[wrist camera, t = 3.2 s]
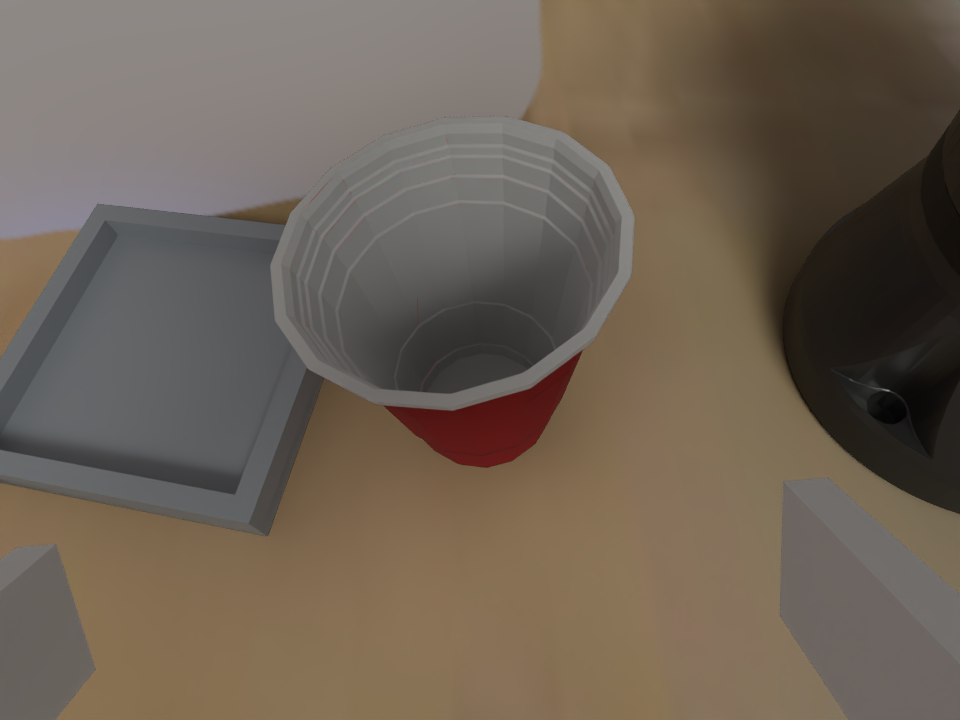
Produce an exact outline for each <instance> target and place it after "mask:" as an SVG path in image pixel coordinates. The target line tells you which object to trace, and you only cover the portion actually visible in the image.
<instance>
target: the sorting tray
mask: <svg viewBox="0 0 960 720" xmlns="http://www.w3.org/2000/svg"><path fill="white" fill-rule="evenodd" d="M285 226H286V225H282V224H273V223H264V222H255V221H246V220H237V219H229V218H220V217H211V216H202V215H193V214H184V213H175V212H166V211H158V210H148V209H140V208H131V207H122V206H113V205H104V204H97V205H96V207H95V208H94V210H93V212H92V213H91V215H90V216H89V218H88V220H87V221H86V223H85V224H84V226H83V228H82V229H81V231H80V232H79V234H78V235H77V237H76V239H75V240H74V242H73V243H72V245H71V247H70V248H69V250H68V251H67V253H66V255H65V256H64V258H63V259H62V261H61V263H60V264H59V266H58V267H57V269H56V271H55V272H54V274H53V275H52V277H51V279H50V280H49V282H48V283H47V285H46V287H45V288H44V290H43V291H42V293H41V295H40V296H39V298H38V299H37V301H36V303H35V304H34V306H33V307H32V309H31V311H30V312H29V314H28V315H27V317H26V319H25V320H24V322H23V323H22V325H21V326H20V328H19V330H18V331H17V333H16V334H15V336H14V338H13V339H12V341H11V342H10V344H9V346H8V347H7V349H6V350H5V352H4V354H3V355H2V357H1V358H0V483H5V484H10V485H15V486H20V487H25V488H30V489H35V490H40V491H45V492H50V493H54V494H59V495H64V496H69V497H74V498H79V499H84V500H89V501H94V502H99V503H104V504H109V505H114V506H119V507H124V508H129V509H134V510H139V511H144V512H149V513H154V514H159V515H164V516H169V517H174V518H179V519H184V520H189V521H194V522H199V523H204V524H209V525H214V526H218V527H223V528H228V529H233V530H238V531H243V532H248V533H253V534H258V535H263V536H268V534H269V531H270V528H271V525H272V523H273V520H274V517H275V514H276V511H277V509H278V506H279V503H280V500H281V497H282V495H283V492H284V489H285V486H286V483H287V480H288V478H289V475H290V472H291V469H292V466H293V464H294V461H295V458H296V455H297V452H298V450H299V447H300V444H301V441H302V438H303V436H304V433H305V430H306V427H307V424H308V421H309V419H310V416H311V413H312V410H313V407H314V405H315V402H316V399H317V396H318V393H319V391H320V388H321V385H322V382H323V379H324V377H322V376H320V375H318V374H316V373H314V372H312V371H310V370H309V369H308V368H307V367H306V365H305V364H304V362H303V361H302V359H301V358H300V356H299V355H298V353H297V352H296V351H295V349H294V348H293V346H292V345H291V343H290V342H289V340H288V339H287V338H286V336H285V335H284V333H283V332H282V330H281V329H280V327H279V326H278V324H277V323H276V322H275V316H274V305H273V293H272V281H271V269H270V265H271V262H272V259H273V257H274V254H275V252H276V249H277V247H278V244H279V241H280V239H281V236H282V234H283V231H284V228H285Z"/></svg>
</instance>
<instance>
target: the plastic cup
mask: <svg viewBox="0 0 960 720" xmlns="http://www.w3.org/2000/svg"><path fill="white" fill-rule="evenodd" d="M633 235H634V213H633V211H632V209H631V208H630V206H629V204H628V202H627V200H626V198H625V196H624V194H623V192H622V190H621V188H620V186H619V184H618V182H617V180H616V178H615V176H614V174H613V172H612V170H611V168H610V166H609V165H608V164H606V163H605V162H603V161H602V160H601V159H599V158H598V157H597V156H595V155H594V154H593V153H591V152H590V151H589V150H587V149H586V148H585V147H583V146H582V145H581V144H579V143H578V142H577V141H575V140H574V139H572V138H571V137H570V136H568V135H567V134H566V133H564V132H562V131H558V130H555V129H551V128H547V127H544V126H540V125H537V124H533V123H530V122H526V121H522V120H519V119H515V118H512V117H508V116H487V117H444V118H441V119H437V120H434V121H431V122H428V123H424V124H420V125H417V126H414V127H410V128H407V129H403V130H400V131H397V132H394V133H390V134H387V135H384V136H382V137H380V138H378V139H377V140H375V141H374V142H372V143H370V144H369V145H367V146H365V147H364V148H362V149H361V150H359V151H357V152H356V153H354V154H352V155H351V156H349V157H347V158H346V159H344V160H343V161H341V162H339V163H338V164H336V165H334V166H333V167H331V168H330V169H329V170H328V171H327V173H326V174H325V175H324V176H323V177H322V178H321V179H320V180H319V181H318V183H317V184H316V185H315V186H314V187H313V188H312V189H311V190H310V191H309V193H308V194H307V195H306V196H305V197H304V198H303V199H302V200H301V202H300V203H299V204H298V205H297V206H296V207H295V208H294V209H293V210H292V212H291V213H290V216H289V218H288V221H287V223H286V226H285V228H284V231H283V234H282V236H281V239H280V241H279V244H278V247H277V249H276V252H275V254H274V257H273V259H272V262H271V265H270V269H271V281H272V293H273V305H274V316H275V322H276V323H277V324H278V326H279V327H280V329H281V330H282V332H283V333H284V335H285V336H286V338H287V339H288V340H289V342H290V343H291V345H292V346H293V348H294V349H295V351H296V352H297V353H298V355H299V356H300V358H301V359H302V361H303V362H304V364H305V365H306V367H307V368H308V369H309V370H310V371H312V372H314V373H316V374H318V375H320V376H322V377H324V378H326V379H328V380H330V381H332V382H333V383H335V384H337V385H339V386H341V387H343V388H345V389H347V390H349V391H351V392H353V393H355V394H356V395H358V396H360V397H362V398H364V399H366V400H368V401H370V402H372V403H374V404H376V405H383V406H384V407H385V408H386V409H388V410H389V411H390V412H391V413H392V414H393V415H394V416H395V417H396V418H397V419H398V420H400V421H401V422H402V423H403V424H404V425H405V426H406V427H407V428H408V429H409V430H410V431H412V432H413V433H414V434H415V435H416V436H418V437H420V438H422V439H423V440H424V441H425V442H426V443H427V444H428V445H429V446H430V447H431V448H432V449H433V450H434V451H436V452H438V453H440V454H441V455H443V456H445V457H447V458H449V459H450V460H452V461H454V462H456V463H458V464H461V465H469V466H477V467H486V468H487V467H491V466H495V465H499V464H503V463H506V462H510V461H513V460H514V459H515V458H517V457H518V456H519V455H521V454H522V453H523V452H525V451H526V450H527V449H529V448H530V447H532V446H533V445H534V444H535V443H536V442H537V440H538V439H539V437H540V435H541V434H542V432H543V430H544V429H545V427H546V425H547V423H548V422H549V420H550V418H551V415H552V414H553V412H554V410H555V409H556V407H557V405H558V404H559V402H560V400H561V399H562V397H563V394H564V392H565V390H566V388H567V385H568V383H569V381H570V378H571V376H572V374H573V372H574V369H575V367H576V365H577V362H578V360H579V358H580V356H581V353H582V351H583V349H584V348H586V347H587V346H589V345H590V344H591V343H592V342H593V341H594V339H595V337H596V335H597V334H598V332H599V330H600V329H601V327H602V325H603V324H604V322H605V320H606V318H607V317H608V315H609V313H610V312H611V310H612V308H613V307H614V305H615V303H616V302H617V300H618V298H619V296H620V295H621V293H622V291H623V290H624V288H625V286H626V284H627V283H628V281H629V279H630V277H631V275H632V255H633Z"/></svg>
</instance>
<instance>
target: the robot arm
mask: <svg viewBox="0 0 960 720" xmlns="http://www.w3.org/2000/svg"><path fill="white" fill-rule="evenodd" d="M783 334H784V344H785V351H786V355H787V359H788V363H789V366H790V369H791V372H792V374H793V377H794V379H795V381H796V384H797V386H798V388H799V390H800V392H801V394H802V396H803V397H804V399H805V401H806V402H807V404H808V406H809V407H810V409H811V410H812V411H813V413H814V414H815V416H816V417H817V419H818V420H819V421H820V422H821V423H822V425H823V426H824V427H825V428H826V430H827V431H828V432H829V433H830V434H831V435H832V436H833V437H834V438H835V440H836V441H837V442H838V443H840V444H841V445H842V446H843V447H844V448H845V449H846V450H847V451H848V452H849V453H850V454H851V455H853V456H854V457H855V458H856V459H857V460H858V461H860V462H861V463H862V464H864V465H865V466H866V467H867V468H869V469H870V470H871V471H873V472H874V473H876V474H877V475H879V476H880V477H882V478H883V479H885V480H886V481H888V482H890V483H891V484H893V485H895V486H896V487H898V488H900V489H902V490H904V491H905V492H907V493H909V494H911V495H913V496H915V497H917V498H920V499H922V500H924V501H926V502H928V503H931V504H933V505H936V506H938V507H941V508H944V509H946V510H950V511H953V512H956V513H959V514H960V110H959V112H958V113H957V115H956V116H955V117H954V119H953V120H952V122H951V124H950V125H949V126H948V128H947V129H946V131H945V132H944V134H943V135H942V137H941V138H940V139H939V141H938V142H937V144H936V145H935V147H934V148H933V149H932V151H931V152H930V154H929V155H928V156H927V157H926V158H924V159H923V160H922V161H920V162H919V163H918V164H916V165H915V166H914V167H912V168H911V169H910V170H908V171H907V172H906V173H904V174H903V175H902V176H900V177H899V178H898V179H896V180H895V181H894V182H892V183H891V184H890V185H888V186H887V187H886V188H884V189H883V190H882V191H880V192H879V193H878V194H877V195H875V196H874V197H873V198H872V199H870V200H869V201H868V202H866V203H865V204H863V205H861V206H860V207H858V208H857V209H855V210H853V211H852V212H850V213H849V214H847V215H846V216H844V217H843V218H842V219H840V220H839V221H838V222H837V223H835V224H834V225H833V226H832V227H831V228H830V229H829V230H828V231H827V232H826V233H825V235H824V236H823V237H822V238H821V239H820V240H819V241H818V243H817V244H816V246H815V247H814V248H813V250H812V252H811V253H810V255H809V257H808V258H807V260H806V262H805V263H804V265H803V267H802V268H801V270H800V272H799V274H798V275H797V277H796V279H795V280H794V282H793V285H792V287H791V289H790V292H789V295H788V298H787V301H786V306H785V311H784V319H783ZM780 617H781V618H782V620H783V621H784V623H785V624H786V626H787V627H788V629H789V630H790V632H791V634H792V635H793V637H794V638H795V640H796V641H797V643H798V644H799V646H800V647H801V649H802V650H803V652H804V653H805V655H806V656H807V658H808V659H809V661H810V662H811V664H812V665H813V667H814V668H815V670H816V671H817V673H818V674H819V676H820V677H821V679H822V680H823V682H824V683H825V685H826V686H827V688H828V689H829V691H830V692H831V694H832V695H833V697H834V698H835V700H836V701H837V703H838V704H839V706H840V707H841V709H842V710H843V712H844V713H845V715H846V716H847V718H848V719H849V720H960V594H959V593H957V592H956V591H955V590H954V589H953V588H952V587H951V586H950V585H948V584H947V583H946V582H945V581H944V580H943V579H942V578H941V577H939V576H938V575H937V574H936V573H935V572H934V571H933V570H931V569H930V568H929V567H928V566H927V565H926V564H925V563H924V562H922V561H921V560H920V559H919V558H918V557H917V556H916V555H915V554H913V553H912V552H911V551H910V550H909V549H908V548H907V547H906V546H904V545H903V544H902V543H901V542H900V541H899V540H898V539H896V538H895V537H894V536H893V535H892V534H891V533H890V532H889V531H887V530H886V529H885V528H884V527H883V526H882V525H881V524H880V523H878V522H877V521H876V520H875V519H874V518H873V517H872V516H871V515H869V514H868V513H867V512H866V511H865V510H864V509H863V508H861V507H860V506H859V505H858V504H857V503H856V502H855V501H854V500H852V499H851V498H850V497H849V496H848V495H847V494H846V493H845V492H843V491H842V490H841V489H840V488H839V487H838V486H837V485H836V484H834V483H833V482H832V481H831V480H830V479H829V478H817V479H806V480H794V481H783V507H782V546H781V584H780ZM95 669H96V668H95V665H94V662H93V659H92V656H91V652H90V649H89V646H88V643H87V640H86V637H85V634H84V630H83V627H82V624H81V621H80V618H79V615H78V611H77V608H76V605H75V602H74V599H73V596H72V592H71V589H70V586H69V583H68V580H67V577H66V573H65V570H64V567H63V564H62V561H61V558H60V555H59V551H58V548H57V545H56V544H53V545H41V546H30V547H18V548H15V549H14V550H12V551H11V552H10V553H8V554H7V555H6V556H5V557H3V558H2V559H1V560H0V720H55V719H56V718H57V717H58V716H59V714H60V713H61V712H62V711H63V709H64V708H65V707H66V706H67V704H68V703H69V702H70V701H71V699H72V698H73V697H74V696H75V694H76V693H77V692H78V691H79V689H80V688H81V687H82V686H83V684H84V683H85V682H86V681H87V679H88V678H89V677H90V676H91V674H92V673H93V672H94V671H95Z"/></svg>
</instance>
